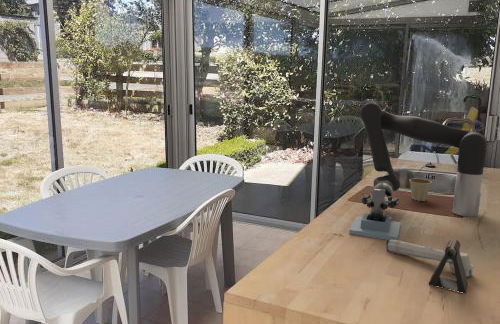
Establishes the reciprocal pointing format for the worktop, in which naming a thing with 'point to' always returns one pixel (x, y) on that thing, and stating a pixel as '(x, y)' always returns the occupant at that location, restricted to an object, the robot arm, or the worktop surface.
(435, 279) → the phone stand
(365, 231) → the block
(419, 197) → the flower pot
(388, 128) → the robot arm
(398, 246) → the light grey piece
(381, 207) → the steel axle
